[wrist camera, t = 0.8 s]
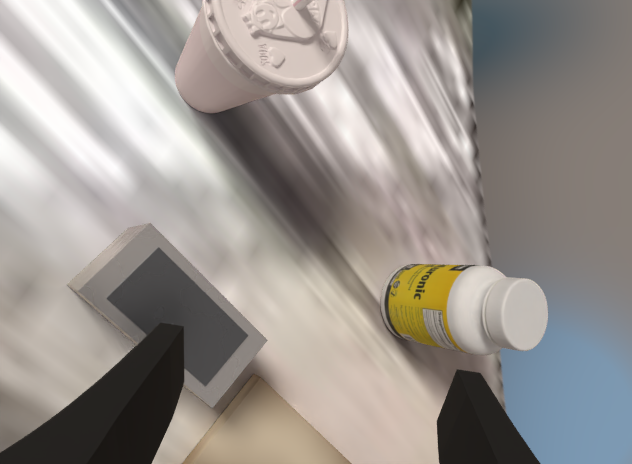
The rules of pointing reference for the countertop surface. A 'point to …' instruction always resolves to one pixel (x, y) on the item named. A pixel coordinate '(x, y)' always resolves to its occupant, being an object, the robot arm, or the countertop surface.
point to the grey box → (170, 307)
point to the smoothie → (259, 50)
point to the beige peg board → (262, 433)
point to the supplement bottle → (464, 308)
